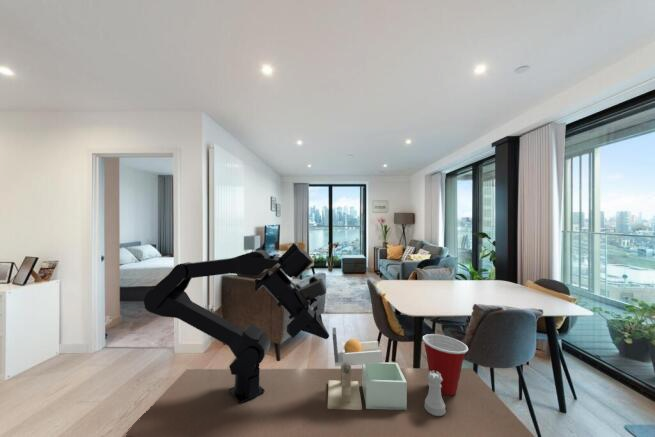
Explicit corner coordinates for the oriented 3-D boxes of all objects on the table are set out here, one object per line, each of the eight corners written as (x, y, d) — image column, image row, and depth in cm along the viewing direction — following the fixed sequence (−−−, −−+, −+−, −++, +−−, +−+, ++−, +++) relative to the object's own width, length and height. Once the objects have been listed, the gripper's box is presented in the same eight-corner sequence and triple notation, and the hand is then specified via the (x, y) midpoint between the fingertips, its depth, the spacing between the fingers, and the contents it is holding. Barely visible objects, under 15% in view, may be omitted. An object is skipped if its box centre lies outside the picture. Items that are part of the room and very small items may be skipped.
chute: (335, 366, 62) (332, 335, 62) (335, 354, 68) (332, 326, 68) (382, 362, 62) (380, 331, 62) (378, 351, 68) (376, 323, 68)
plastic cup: (475, 405, 62) (474, 352, 62) (425, 398, 64) (425, 347, 64) (461, 380, 72) (461, 335, 73) (419, 375, 74) (419, 331, 75)
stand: (327, 409, 59) (328, 367, 60) (328, 383, 70) (329, 347, 70) (361, 410, 59) (362, 368, 60) (357, 384, 69) (358, 348, 70)
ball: (343, 358, 65) (339, 342, 65) (354, 351, 68) (350, 335, 68) (355, 361, 62) (351, 344, 62) (366, 353, 65) (362, 337, 65)
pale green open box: (366, 408, 60) (366, 380, 60) (361, 385, 69) (362, 361, 69) (406, 410, 60) (406, 382, 60) (397, 386, 69) (397, 362, 69)
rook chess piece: (436, 419, 57) (436, 380, 57) (419, 407, 61) (419, 371, 61) (450, 413, 59) (450, 376, 59) (433, 402, 63) (433, 366, 63)
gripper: (303, 273, 57) (354, 327, 56) (310, 263, 76) (349, 304, 75) (265, 310, 57) (316, 365, 56) (282, 291, 75) (320, 332, 75)
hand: (327, 337), depth 65 cm, fingers closed
